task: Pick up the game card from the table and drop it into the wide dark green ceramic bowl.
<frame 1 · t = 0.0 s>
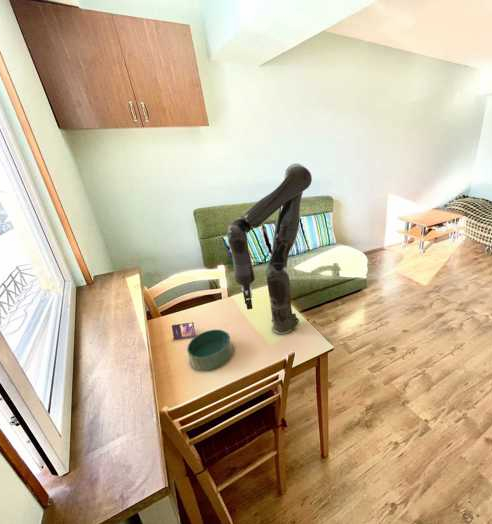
hand: (249, 303, 121), 17 cm above the table, tool pointing down, fingers open, 8 cm apart
game card: (186, 335, 129), on the table
bowl: (212, 355, 117), on the table
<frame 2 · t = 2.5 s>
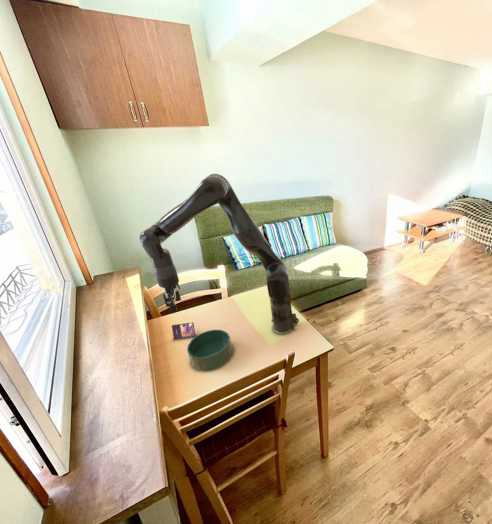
hand: (176, 305, 121), 16 cm above the table, tool pointing down, fingers open, 8 cm apart
nothing on the table moved.
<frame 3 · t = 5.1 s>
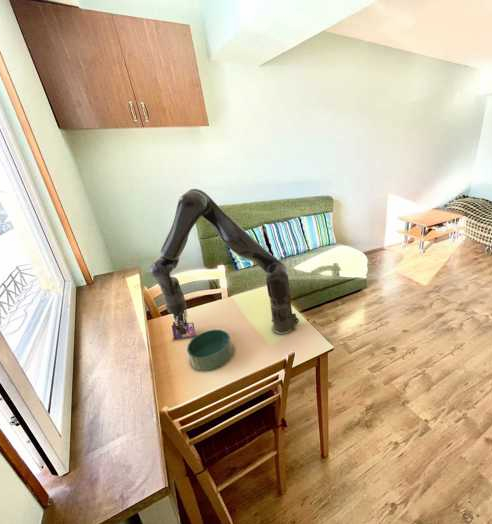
hand: (184, 330, 128), 2 cm above the table, tool pointing down, fingers closed on game card, 4 cm apart
game card: (186, 335, 129), on the table, touching gripper
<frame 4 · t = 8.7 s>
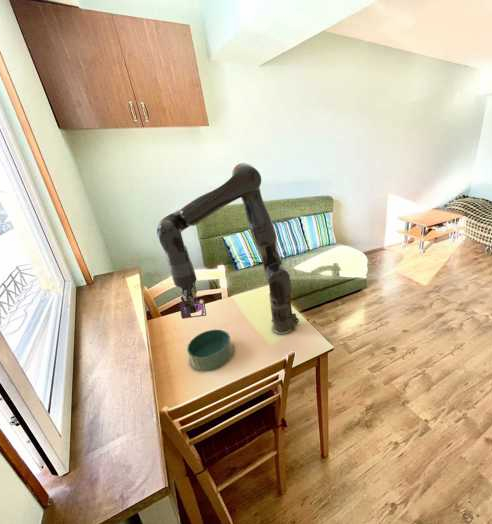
hand: (194, 308, 110), 22 cm above the table, tool pointing down, fingers closed on game card, 4 cm apart
game card: (195, 314, 111), point 19 cm above the table, touching gripper
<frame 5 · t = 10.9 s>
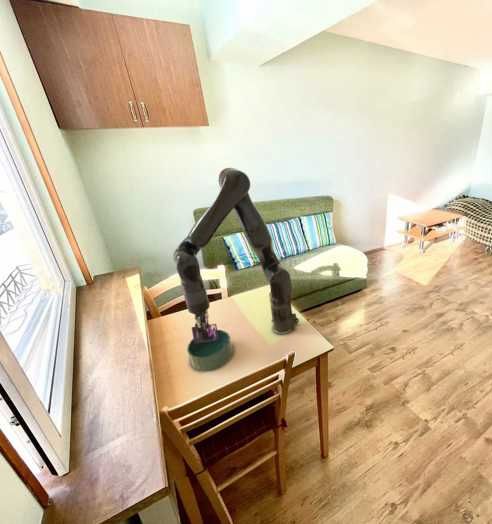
hand: (206, 333, 112), 12 cm above the table, tool pointing down, fingers closed on game card, 4 cm apart
game card: (207, 338, 113), point 10 cm above the table, touching gripper
when the fingers open (7 cm above the table, at t = 12.7 s): game card drops 3 cm, resting on bowl.
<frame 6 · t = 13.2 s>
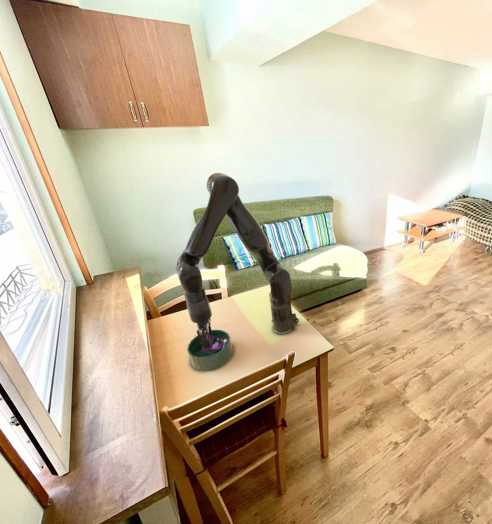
hand: (208, 339, 113), 9 cm above the table, tool pointing down, fingers open, 8 cm apart
game card: (212, 352, 117), point 2 cm above the table, touching bowl
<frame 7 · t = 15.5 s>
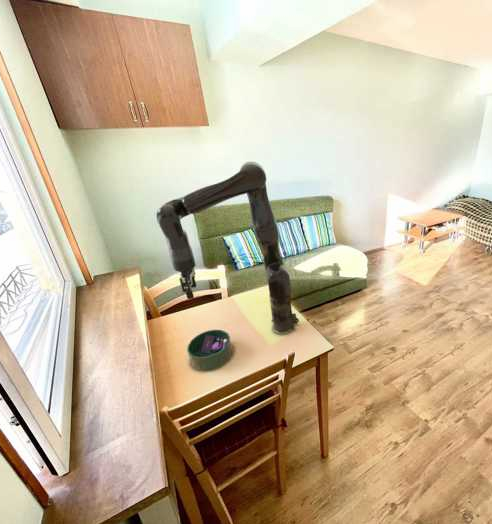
hand: (192, 292, 112), 27 cm above the table, tool pointing down, fingers open, 8 cm apart
nothing on the table moved.
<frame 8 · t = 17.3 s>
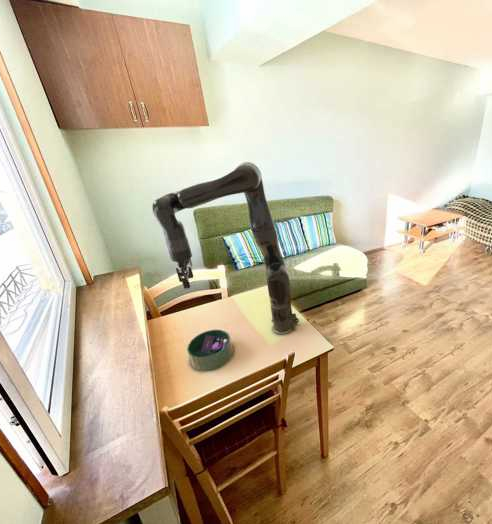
hand: (189, 282, 116), 28 cm above the table, tool pointing down, fingers open, 8 cm apart
nothing on the table moved.
at the end: game card inside the target area in the bowl (0.4 cm from its centre), point 1.5 cm above the bowl's base; the gripper is holding nothing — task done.
